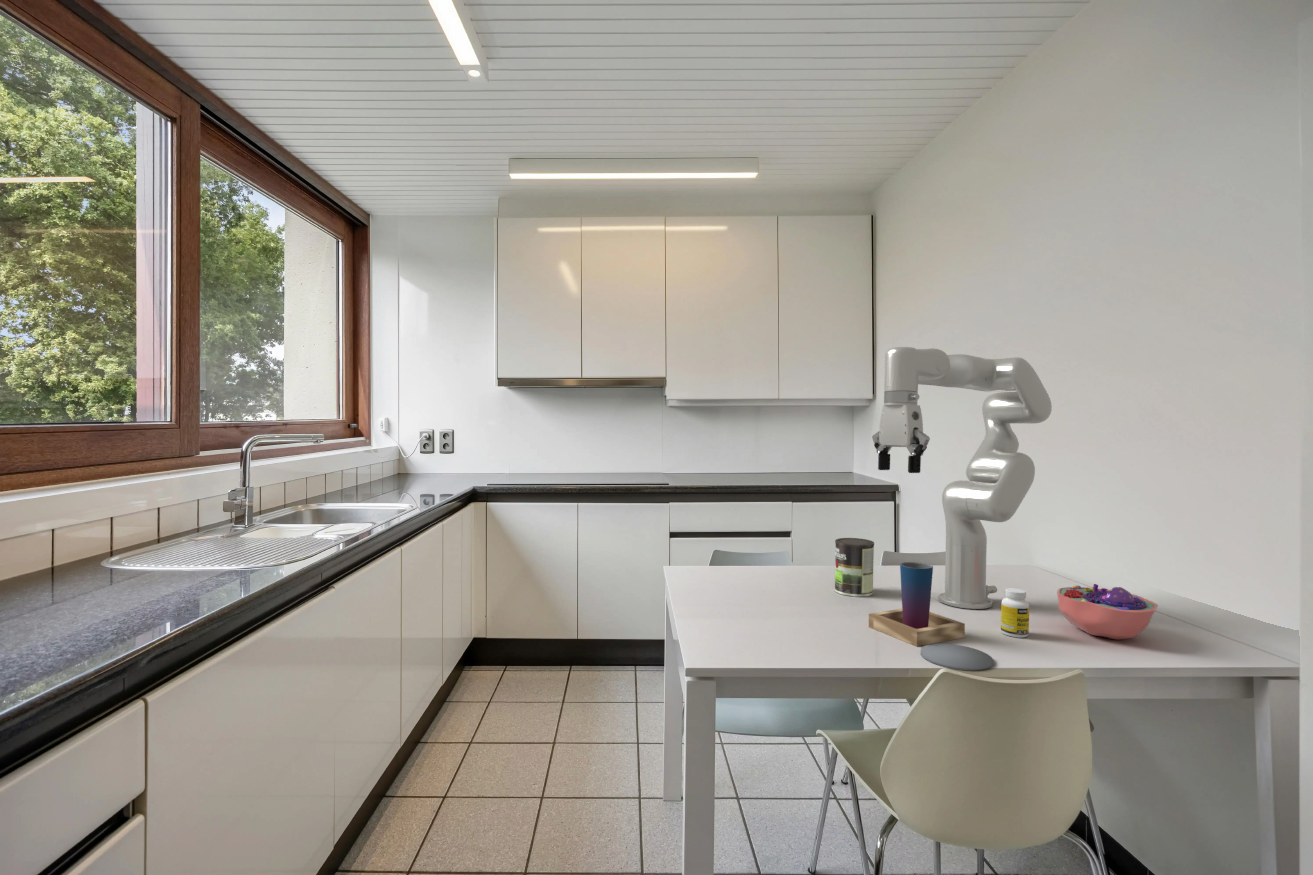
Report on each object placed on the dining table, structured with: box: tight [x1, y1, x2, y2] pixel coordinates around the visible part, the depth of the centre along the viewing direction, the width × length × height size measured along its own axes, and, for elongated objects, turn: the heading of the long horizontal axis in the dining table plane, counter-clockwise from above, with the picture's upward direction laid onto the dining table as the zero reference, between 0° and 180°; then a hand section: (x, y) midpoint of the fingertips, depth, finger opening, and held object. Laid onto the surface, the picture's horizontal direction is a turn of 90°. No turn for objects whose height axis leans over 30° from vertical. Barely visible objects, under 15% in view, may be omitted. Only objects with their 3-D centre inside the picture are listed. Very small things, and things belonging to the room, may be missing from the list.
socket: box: [868, 608, 966, 647], centre depth 143 cm, size 14×14×3 cm
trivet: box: [920, 643, 994, 672], centre depth 127 cm, size 13×13×1 cm
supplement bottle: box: [1000, 587, 1030, 639], centre depth 142 cm, size 5×5×10 cm
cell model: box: [1056, 583, 1159, 640], centre depth 142 cm, size 17×20×11 cm
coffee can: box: [834, 537, 875, 598], centre depth 176 cm, size 10×10×14 cm
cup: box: [899, 561, 934, 629], centre depth 143 cm, size 7×7×15 cm
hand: (898, 471), depth 153 cm, fingers open, 9 cm apart
